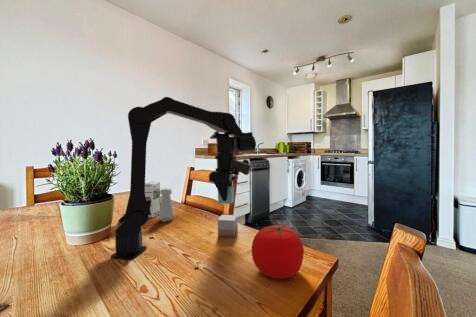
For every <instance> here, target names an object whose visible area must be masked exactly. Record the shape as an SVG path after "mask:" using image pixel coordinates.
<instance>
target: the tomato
mask: <svg viewBox="0 0 476 317" xmlns="http://www.w3.org/2000/svg"><path fill="white" fill-rule="evenodd" d="M304 249H305V248H304V244H303V241H302V240H301V237H300V236H299V234H298V233H297V232H296V231H294V229H292V228H289V227H287V226H285V225H280V224H278V225H269V226H268V225H267V226H265V227H263V228H261V229H259V230H258V232H257V233H256V234H255V236H254V237H253V239H252V245H251V257H252V260H253V262H254V265H255V266H256V268H257V269H258V270H259V272H261V274H264V275H265V276H267V277H268V278H269V277H270V278H272V279H275V280H276V279H277V280H283V279H284V280H285V279H288V278H291V277H293V276H295V275H296V274H297V273H298V272H299V271H300V270H301V267H302V264H303V260H304V251H305V250H304Z"/></svg>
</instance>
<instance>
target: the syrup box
mask: <svg viewBox="0 0 476 317" xmlns="http://www.w3.org/2000/svg"><path fill="white" fill-rule="evenodd" d="M160 191H161V182H160V181H148V182H145V197H148V196H150V197H151V206H150V211H151V216H150V215H148V218H155V217H157V216H159V215H158V214H159V211H160V205H161V193H160Z"/></svg>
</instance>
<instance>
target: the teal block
mask: <svg viewBox="0 0 476 317" xmlns="http://www.w3.org/2000/svg"><path fill="white" fill-rule="evenodd" d="M217 199H218V200H217V202H218V203H217V204H218V205H219V204H223V205H225V204H226V205H232V204H233V203H234V202H235V185H232V186H229V187H228V194H227V200H226V201H223V200H222V198H221V195H220V193H219V191H218V190H217Z"/></svg>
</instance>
